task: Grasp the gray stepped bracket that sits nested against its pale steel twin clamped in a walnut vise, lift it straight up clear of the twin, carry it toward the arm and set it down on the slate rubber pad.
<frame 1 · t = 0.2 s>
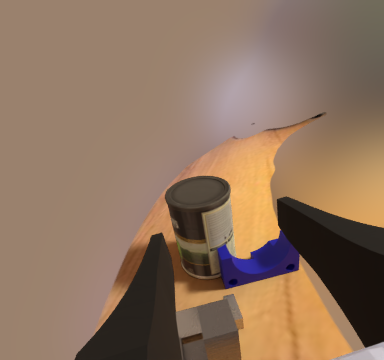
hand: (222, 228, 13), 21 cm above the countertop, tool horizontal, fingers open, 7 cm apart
blue cradle bracket: (256, 269, 36), on the countertop, touching coffee can
coffee can: (208, 257, 40), on the countertop, touching blue cradle bracket
gray stepped bracket: (222, 355, 26), on the countertop
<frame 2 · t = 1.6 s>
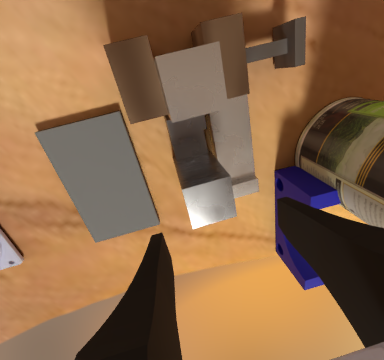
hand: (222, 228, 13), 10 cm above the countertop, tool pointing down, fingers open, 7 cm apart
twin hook: (179, 82, 18), on the countertop
blue cradle bracket: (291, 209, 27), on the countertop, touching coffee can
coffee can: (335, 146, 24), on the countertop, touching blue cradle bracket
vise: (177, 72, 18), on the countertop
gray stepped bracket: (193, 168, 22), on the countertop
pad: (107, 182, 21), on the countertop
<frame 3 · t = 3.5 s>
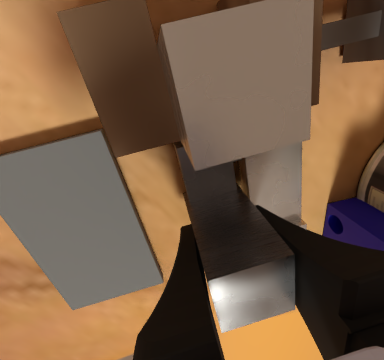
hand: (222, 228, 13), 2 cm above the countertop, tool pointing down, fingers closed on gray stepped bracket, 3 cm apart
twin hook: (195, 84, 12), on the countertop
blue cradle bracket: (339, 252, 20), on the countertop, touching coffee can
vise: (193, 69, 11), on the countertop
gray stepped bracket: (212, 207, 15), on the countertop, touching gripper
pad: (86, 230, 14), on the countertop
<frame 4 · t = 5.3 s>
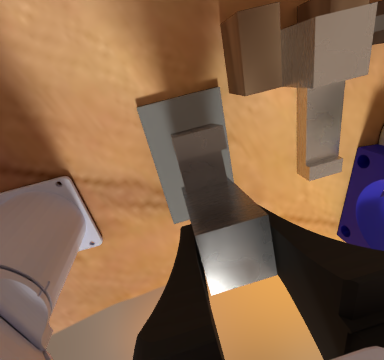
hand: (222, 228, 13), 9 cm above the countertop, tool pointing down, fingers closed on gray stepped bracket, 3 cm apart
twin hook: (277, 58, 18), on the countertop
blue cradle bracket: (361, 191, 27), on the countertop, touching coffee can
vise: (277, 48, 18), on the countertop
gray stepped bracket: (208, 201, 17), point 5 cm above the countertop, tilted 9°, touching gripper
pad: (192, 161, 21), on the countertop
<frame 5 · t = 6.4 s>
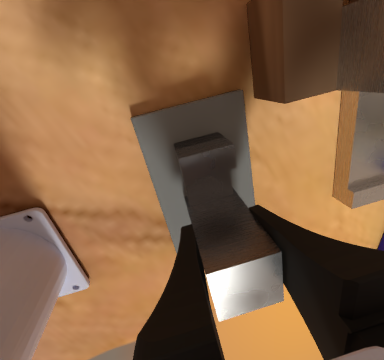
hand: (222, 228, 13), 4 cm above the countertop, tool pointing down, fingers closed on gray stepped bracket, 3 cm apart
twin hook: (320, 51, 14), on the countertop
vise: (321, 37, 13), on the countertop
gray stepped bracket: (211, 209, 17), point 1 cm above the countertop, touching gripper, pad
pad: (204, 185, 16), on the countertop
when the fingers open (4 cm above the countertop, at t = 7.0 s): gray stepped bracket stays where it is, resting on pad.
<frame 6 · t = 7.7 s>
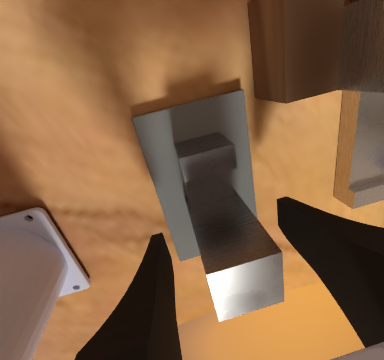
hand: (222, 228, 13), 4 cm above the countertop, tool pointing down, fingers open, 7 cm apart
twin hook: (321, 51, 14), on the countertop
vise: (322, 37, 13), on the countertop
gray stepped bracket: (211, 209, 17), point 1 cm above the countertop, touching pad
pad: (205, 185, 16), on the countertop
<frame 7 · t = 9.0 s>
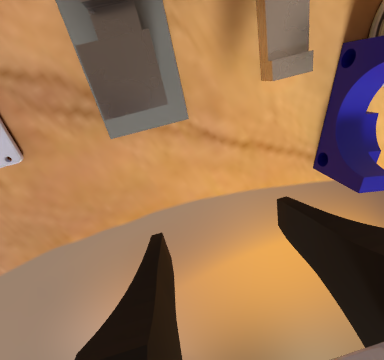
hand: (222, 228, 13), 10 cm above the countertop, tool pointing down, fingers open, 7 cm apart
blue cradle bracket: (344, 111, 22), on the countertop, touching coffee can
gray stepped bracket: (134, 77, 17), point 1 cm above the countertop, touching pad
pad: (127, 52, 17), on the countertop
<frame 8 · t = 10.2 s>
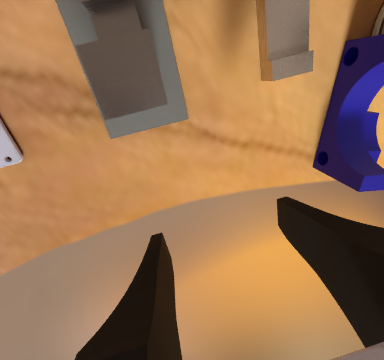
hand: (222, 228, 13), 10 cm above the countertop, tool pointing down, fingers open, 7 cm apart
blue cradle bracket: (345, 110, 22), on the countertop, touching coffee can
gray stepped bracket: (134, 77, 17), point 1 cm above the countertop, touching pad
pad: (127, 52, 17), on the countertop
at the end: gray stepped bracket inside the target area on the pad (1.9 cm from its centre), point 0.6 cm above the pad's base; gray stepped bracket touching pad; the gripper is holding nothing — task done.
